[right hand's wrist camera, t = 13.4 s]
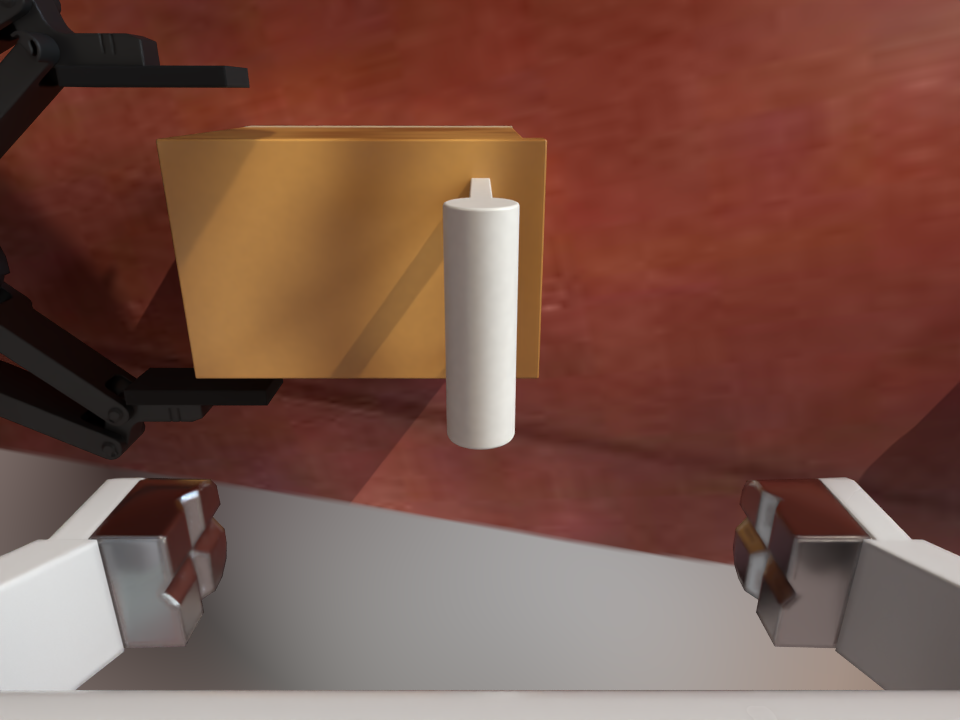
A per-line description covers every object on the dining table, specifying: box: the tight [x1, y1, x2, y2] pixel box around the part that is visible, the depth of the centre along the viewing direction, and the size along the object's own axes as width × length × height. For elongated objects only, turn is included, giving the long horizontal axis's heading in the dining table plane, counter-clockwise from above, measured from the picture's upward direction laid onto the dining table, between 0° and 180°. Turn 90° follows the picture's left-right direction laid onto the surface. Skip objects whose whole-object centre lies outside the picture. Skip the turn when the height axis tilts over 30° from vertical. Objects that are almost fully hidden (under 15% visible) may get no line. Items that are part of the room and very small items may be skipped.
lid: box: [156, 138, 547, 449], centre depth 22 cm, size 14×9×9 cm
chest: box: [169, 126, 522, 138], centre depth 31 cm, size 13×9×10 cm
